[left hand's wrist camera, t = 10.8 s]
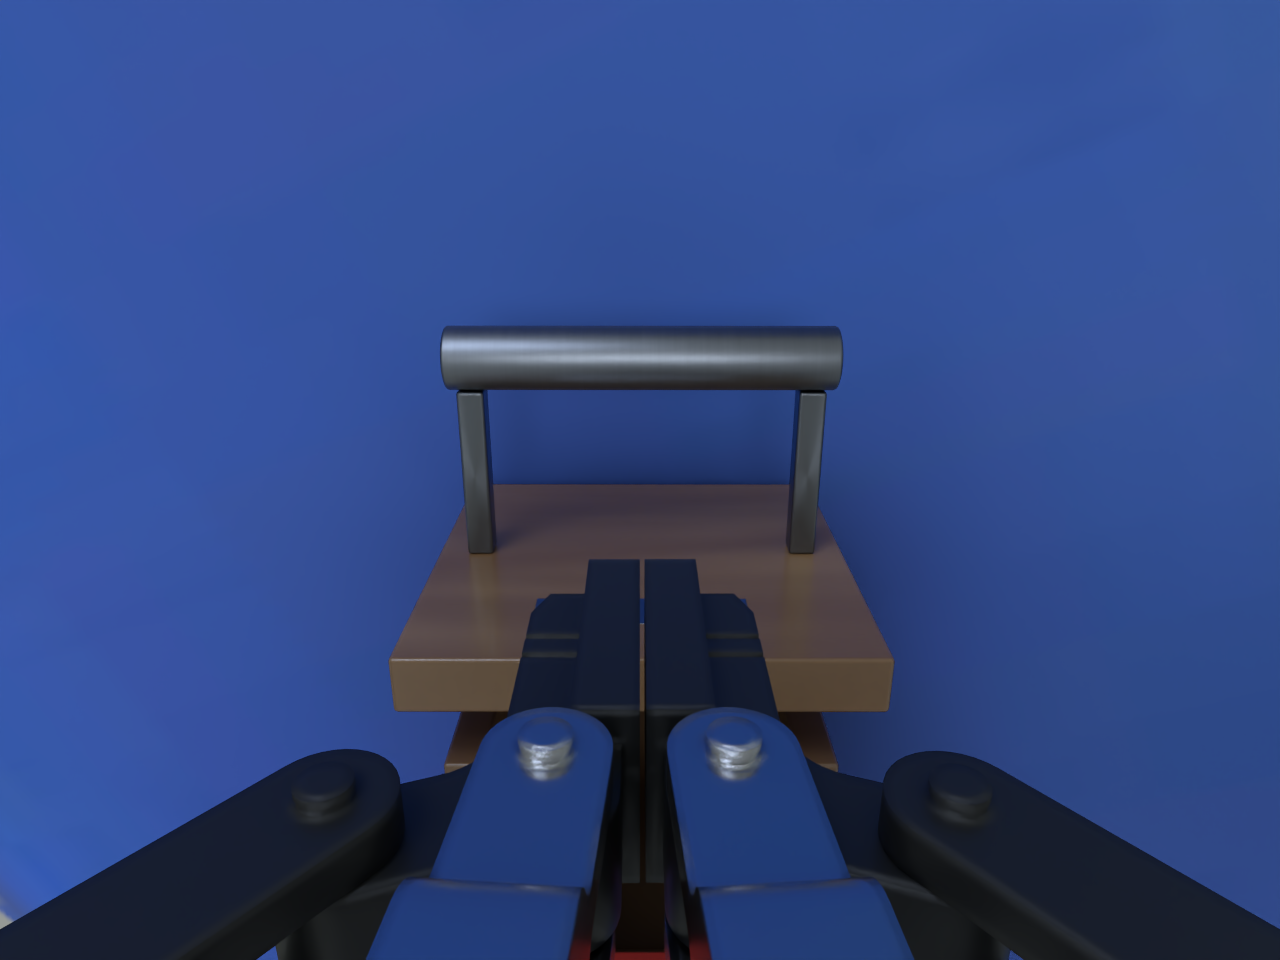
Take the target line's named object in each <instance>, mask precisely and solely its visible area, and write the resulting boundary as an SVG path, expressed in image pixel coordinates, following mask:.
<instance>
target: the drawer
mask: <svg viewBox="0 0 1280 960" xmlns="http://www.w3.org/2000/svg"><path fill="white" fill-rule="evenodd" d="M440 365H441V373H442V378H443V382H444V384H445V387H446V388H447V389H449V390H459V391H458V392H457V394H456V396H457V409H458V422H459V435H460V448H461V461H462V474H463V488H464V501H465V505H464V507H463V509H462V511H461V513H460V515H459V517H458V519H457V521H456V523H455V525H454V527H453V529H452V531H451V533H450V535H449V537H448V540H447V542H446V544H445V546H444V548H443V550H442V552H441V554H440V556H439V558H438V560H437V562H436V564H435V566H434V568H433V570H432V572H431V574H430V576H429V578H428V580H427V582H426V584H425V587H424V589H423V591H422V593H421V595H420V597H419V599H418V601H417V603H416V605H415V607H414V609H413V611H412V613H411V615H410V617H409V619H408V621H407V623H406V625H405V627H404V629H403V631H402V634H401V636H400V638H399V640H398V642H397V644H396V646H395V648H394V650H393V652H392V654H391V656H390V658H389V670H390V678H391V687H392V695H393V704H394V709H395V711H398V712H461V713H460V717H459V720H458V723H457V726H456V729H455V732H454V736H453V739H452V742H451V745H450V748H449V751H448V755H447V758H446V761H445V764H444V769H445V773H449V772H452V771H454V770H457V769H460V768H462V767H464V766H466V765H468V764H470V763H472V762H474V759H475V757H476V754H477V751H478V749H479V746H480V744H481V742H482V740H483V738H484V736H485V735H486V734H487V733H488V731H489V730H490V729H491V728H493V727H494V726H495V725H496V724H497V723H499V722H501V721H502V720H504V719H505V718H507V714H508V710H509V706H510V701H511V697H512V693H513V689H514V684H515V680H516V676H517V671H518V667H519V663H520V658H521V657H522V650H523V646H524V641H525V639H526V633H527V628H528V624H529V620H530V615H531V612H532V611H533V610H534V609H535V608H536V607H537V606H538V605H539V604H541V603H542V602H543V601H544V600H545V599H546V598H547V597H548V596H549V595H550V594H584V593H585V585H586V577H587V569H588V561H589V559H640V883H622V902H621V915H620V919H619V922H618V925H617V927H616V928H615V934H616V946H615V952H665V946H664V934H665V899H664V883H646V848H645V721H644V562H645V559H696V565H697V572H698V580H699V587H700V593H734V594H735V595H736V596H737V597H738V598H739V599H740V600H741V601H742V602H743V603H744V604H745V605H746V606H747V607H748V608H749V609H751V610H752V611H753V612H754V617H755V621H756V625H757V629H758V633H759V639H760V641H761V645H762V650H763V657H764V658H765V662H766V666H767V670H768V674H769V678H770V682H771V687H772V691H773V695H774V699H775V703H776V707H777V711H778V715H779V720H780V722H781V723H783V724H784V725H785V726H786V727H787V728H789V729H790V730H791V731H792V733H793V734H794V735H795V736H796V738H797V740H798V742H799V744H800V746H801V749H802V751H803V754H804V756H805V757H807V758H808V759H810V760H811V761H813V762H815V763H817V764H819V765H821V766H823V767H825V768H827V769H830V770H833V771H835V772H838V762H837V759H836V756H835V753H834V750H833V747H832V744H831V741H830V737H829V734H828V731H827V728H826V725H825V722H824V719H823V716H822V712H886V711H888V709H889V704H890V696H891V687H892V679H893V671H894V663H895V661H894V658H893V656H892V654H891V652H890V650H889V648H888V646H887V644H886V642H885V640H884V638H883V636H882V634H881V632H880V630H879V628H878V626H877V624H876V622H875V620H874V618H873V616H872V614H871V612H870V610H869V608H868V606H867V604H866V602H865V600H864V598H863V596H862V594H861V592H860V589H859V587H858V585H857V583H856V581H855V579H854V577H853V575H852V573H851V571H850V569H849V567H848V565H847V563H846V561H845V559H844V557H843V555H842V553H841V551H840V549H839V547H838V545H837V543H836V541H835V539H834V537H833V535H832V533H831V531H830V529H829V527H828V525H827V523H826V521H825V519H824V517H823V515H822V513H821V511H820V509H819V507H818V498H819V485H820V473H821V460H822V448H823V435H824V423H825V410H826V398H827V394H826V392H825V391H824V390H835V389H836V388H837V387H838V385H839V382H840V379H841V374H842V367H843V342H842V336H841V332H840V330H839V328H838V327H836V326H446V327H445V328H444V330H443V333H442V336H441V344H440ZM487 390H796V394H795V409H794V424H793V439H792V454H791V469H790V484H789V485H652V484H493V473H492V457H491V442H490V426H489V410H488V394H487Z"/></svg>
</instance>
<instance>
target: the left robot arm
mask: <svg viewBox="0 0 1280 960" xmlns="http://www.w3.org/2000/svg"><path fill="white" fill-rule="evenodd" d="M644 721H645V848H646V883H664V899H665V934H664V946H665V958H666V960H1008V959H1009V954H1010V950H1011V951H1013V952H1014V953H1016V954H1017V955H1018V956H1020V957H1021V958H1022V959H1024V960H1280V929H1278V928H1277V927H1275V926H1273V925H1271V924H1270V923H1268V922H1266V921H1264V920H1263V919H1261V918H1259V917H1257V916H1256V915H1254V914H1252V913H1250V912H1249V911H1247V910H1245V909H1243V908H1242V907H1240V906H1238V905H1236V904H1235V903H1233V902H1231V901H1229V900H1228V899H1226V898H1224V897H1222V896H1221V895H1219V894H1217V893H1215V892H1214V891H1212V890H1210V889H1208V888H1207V887H1205V886H1203V885H1201V884H1200V883H1198V882H1196V881H1194V880H1193V879H1191V878H1189V877H1187V876H1186V875H1184V874H1182V873H1180V872H1179V871H1177V870H1175V869H1173V868H1172V867H1170V866H1168V865H1166V864H1165V863H1163V862H1161V861H1159V860H1158V859H1156V858H1154V857H1152V856H1151V855H1149V854H1147V853H1145V852H1144V851H1142V850H1140V849H1138V848H1137V847H1135V846H1133V845H1131V844H1130V843H1128V842H1126V841H1124V840H1123V839H1121V838H1119V837H1117V836H1116V835H1114V834H1112V833H1110V832H1109V831H1107V830H1105V829H1103V828H1102V827H1100V826H1098V825H1096V824H1095V823H1093V822H1091V821H1089V820H1088V819H1086V818H1084V817H1082V816H1081V815H1079V814H1077V813H1075V812H1074V811H1072V810H1070V809H1068V808H1067V807H1065V806H1063V805H1062V804H1060V803H1058V802H1056V801H1055V800H1053V799H1051V798H1049V797H1048V796H1046V795H1044V794H1042V793H1041V792H1039V791H1037V790H1035V789H1034V788H1032V787H1030V786H1028V785H1027V784H1025V783H1023V782H1021V781H1020V780H1018V779H1016V778H1014V777H1013V776H1011V775H1009V774H1007V773H1006V772H1004V771H1002V770H1000V769H999V768H997V767H995V766H993V765H991V764H989V763H987V762H984V761H982V760H979V759H977V758H974V757H970V756H967V755H963V754H958V753H953V752H944V751H925V752H919V753H914V754H911V755H908V756H905V757H903V758H901V759H899V760H897V761H896V762H895V763H894V764H893V765H891V767H890V768H889V769H888V771H887V772H886V775H885V777H884V781H883V783H880V782H876V781H872V780H867V779H863V778H858V777H854V776H850V775H846V774H842V773H839V772H835V771H833V770H830V769H827V768H825V767H823V766H821V765H819V764H817V763H815V762H813V761H811V760H810V759H808V758H807V757H805V756H804V754H803V751H802V749H801V746H800V744H799V742H798V740H797V738H796V736H795V735H794V734H793V733H792V731H791V730H790V729H789V728H787V727H786V726H785V725H784V724H783V723H781V722H780V720H779V715H778V711H777V707H776V703H775V699H774V695H773V691H772V687H771V682H770V678H769V674H768V670H767V666H766V662H765V658H764V657H763V650H762V645H761V641H760V639H759V633H758V629H757V625H756V621H755V617H754V612H753V611H752V610H751V609H749V608H748V607H747V606H746V605H745V604H744V603H743V602H742V601H741V600H740V599H739V598H738V597H737V596H736V595H735V594H734V593H700V587H699V580H698V572H697V565H696V559H645V562H644ZM622 883H640V559H589V561H588V569H587V577H586V585H585V593H584V594H550V595H549V596H548V597H547V598H546V599H545V600H544V601H543V602H542V603H541V604H539V605H538V606H537V607H536V608H535V609H534V610H533V611H532V612H531V615H530V620H529V624H528V628H527V633H526V639H525V641H524V646H523V650H522V657H521V658H520V663H519V667H518V671H517V676H516V680H515V684H514V689H513V693H512V697H511V701H510V706H509V710H508V714H507V718H505V719H504V720H502V721H501V722H499V723H497V724H496V725H495V726H494V727H493V728H491V729H490V730H489V731H488V733H487V734H486V735H485V736H484V738H483V740H482V742H481V744H480V746H479V749H478V751H477V754H476V757H475V759H474V762H472V763H470V764H468V765H466V766H464V767H462V768H460V769H457V770H454V771H452V772H449V773H445V774H442V775H438V776H434V777H429V778H425V779H421V780H416V781H412V782H407V783H403V784H400V777H399V775H398V772H397V770H396V768H395V767H394V766H393V764H392V763H391V762H389V761H388V760H387V759H386V758H384V757H382V756H380V755H378V754H375V753H372V752H369V751H363V750H357V749H341V750H331V751H325V752H320V753H317V754H313V755H310V756H307V757H304V758H302V759H299V760H297V761H295V762H293V763H291V764H289V765H287V766H285V767H283V768H281V769H280V770H278V771H276V772H274V773H273V774H271V775H269V776H267V777H266V778H264V779H262V780H260V781H259V782H257V783H255V784H253V785H252V786H250V787H248V788H246V789H245V790H243V791H241V792H240V793H238V794H236V795H234V796H233V797H231V798H229V799H227V800H226V801H224V802H222V803H220V804H219V805H217V806H215V807H213V808H212V809H210V810H208V811H206V812H205V813H203V814H201V815H199V816H198V817H196V818H194V819H192V820H191V821H189V822H187V823H185V824H184V825H182V826H180V827H178V828H177V829H175V830H173V831H171V832H170V833H168V834H166V835H164V836H163V837H161V838H159V839H157V840H156V841H154V842H152V843H150V844H149V845H147V846H145V847H143V848H142V849H140V850H138V851H136V852H135V853H133V854H131V855H129V856H128V857H126V858H124V859H122V860H121V861H119V862H117V863H115V864H114V865H112V866H110V867H108V868H107V869H105V870H103V871H101V872H100V873H98V874H96V875H94V876H93V877H91V878H89V879H87V880H86V881H84V882H82V883H80V884H79V885H77V886H75V887H73V888H72V889H70V890H68V891H66V892H65V893H63V894H61V895H59V896H58V897H56V898H54V899H52V900H51V901H49V902H47V903H45V904H44V905H42V906H40V907H38V908H37V909H35V910H33V911H31V912H30V913H28V914H26V915H24V916H23V917H21V918H19V919H17V920H16V921H14V922H12V923H10V924H9V925H7V926H5V927H3V928H2V929H0V960H256V959H258V958H259V957H260V956H262V955H263V954H265V953H266V952H267V951H269V950H270V949H271V948H273V947H274V946H276V951H277V956H278V960H614V958H615V946H616V934H615V928H616V927H617V925H618V922H619V919H620V915H621V902H622Z"/></svg>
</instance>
